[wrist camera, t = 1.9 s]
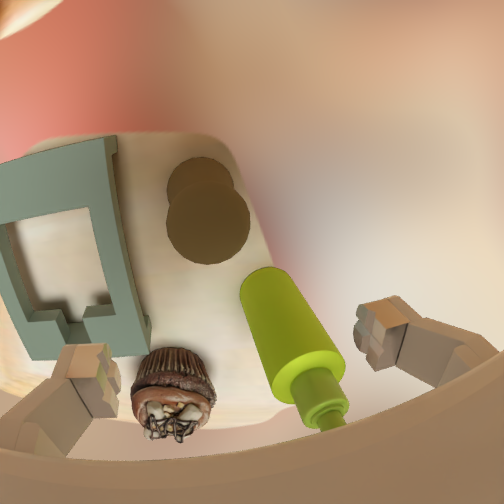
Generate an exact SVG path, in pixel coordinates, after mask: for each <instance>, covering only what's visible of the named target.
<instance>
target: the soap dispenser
mask: <svg viewBox="0 0 504 504" xmlns="http://www.w3.org/2000/svg"><path fill="white" fill-rule="evenodd" d="M240 300H241V303H242V306H243V309H244V312H245V315H246V318H247V321H248V324H249V327H250V330H251V333H252V336H253V339H254V342H255V345H256V347H257V350H258V353H259V356H260V359H261V362H262V365H263V368H264V370H265V373H266V376H267V379H268V382H269V385H270V387H271V390H272V393H273V395H274V397H275V398H276V399H278V400H279V401H281V402H283V403H286V404H296V407H297V409H298V412H299V414H300V416H301V419H302V421H303V423H304V425H305V426H306V427H309V428H312V429H317V428H320V430H321V432H324V431H327V430H330V429H334V428H337V427H340V426H343V425H346V422H345V420H344V419H343V416H344V415H345V414H346V413H347V411H348V409H349V401H348V399H347V398H346V396H345V394H344V392H343V391H342V389H341V387H340V385H339V384H338V383H339V382H340V380H341V379H342V377H343V375H344V372H345V361H344V359H343V357H342V355H341V354H340V352H339V351H338V349H337V348H336V346H335V345H334V343H333V342H332V340H331V338H330V337H329V335H328V334H327V332H326V331H325V329H324V328H323V326H322V325H321V323H320V321H319V320H318V318H317V317H316V315H315V314H314V312H313V311H312V309H311V308H310V306H309V305H308V303H307V302H306V300H305V299H304V297H303V295H302V294H301V292H300V291H299V289H298V288H297V286H296V285H295V283H294V282H293V280H292V279H291V277H290V276H289V275H288V274H287V273H286V272H285V271H283V270H281V269H278V268H274V267H267V268H262V269H259V270H257V271H255V272H253V273H252V274H250V275H249V276H248V277H247V278H246V279H245V281H244V282H243V284H242V286H241V289H240Z"/></svg>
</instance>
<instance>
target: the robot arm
mask: <svg viewBox="0 0 504 504" xmlns="http://www.w3.org/2000/svg"><path fill="white" fill-rule="evenodd" d="M356 316H357V317H358V319H359V320H358V321H357V323H356V324H355V325H354V331H353V336H354V342H355V344H356V346H357V348H358V349H359V351H361V352H363V353H365V354H367V355H366V360H367V362H368V363H369V364H370V366H371V367H372V368H373V370H374V371H375V372H376V371H379V370H382V369H386V368H389V367H392V366H395V365H396V367H398V368H399V369H402V370H403V371H405V372H407V373H409V374H410V375H412V376H414V377H416V378H418V379H420V380H421V381H423V382H425V383H427V384H429V385H431V386H433V387H435V389H433V390H431V391H429V392H427V393H425V394H422V395H421V396H418V397H416V398H414V399H411V400H409V401H407V402H404V403H402V404H400V405H397V406H395V407H393V408H390V409H388V410H385V411H383V412H380V413H377V414H375V415H372V416H370V417H366V418H364V419H361V420H358V421H355V422H352V423H349V424H346V425H343V426H340V427H337V428H334V429H330V430H327V431H324V432H320V433H317V434H314V435H310V436H306V437H302V438H298V439H294V440H291V441H286V442H282V443H277V444H273V445H268V446H263V447H258V448H253V449H248V450H242V451H236V452H229V453H223V454H216V455H208V456H200V457H189V458H178V459H164V460H143V461H141V460H140V461H108V460H83V459H71V458H66V456H67V454H68V453H69V452H70V450H71V449H72V447H73V446H74V445H75V443H76V442H77V441H78V439H79V438H80V437H81V435H82V434H83V433H84V431H85V430H86V429H87V427H88V426H89V425H90V423H91V422H92V420H93V418H117V415H118V406H119V400H118V398H117V396H116V395H117V394H118V393H119V392H120V390H121V376H120V372H119V368H118V366H117V363H115V362H114V361H113V360H111V357H112V351H111V349H110V346H109V345H108V344H107V343H92V344H71V345H65V346H63V348H62V350H61V352H60V355H59V358H58V360H57V363H56V365H55V368H54V371H53V373H52V376H51V379H46V380H45V381H43V382H42V383H41V384H40V385H39V386H37V387H36V388H35V389H34V390H33V391H31V392H30V393H29V394H28V395H27V396H25V397H24V398H23V399H22V400H21V401H20V402H19V403H17V404H16V405H15V406H14V407H13V408H11V409H10V410H9V411H8V412H7V413H6V414H5V415H3V416H2V417H1V419H0V504H504V350H503V351H501V352H499V351H497V349H496V348H494V347H493V346H492V345H491V344H490V343H489V342H488V341H487V340H486V339H485V338H483V337H482V336H481V335H479V334H476V333H473V332H470V331H467V330H464V329H461V328H457V327H454V326H451V325H448V324H445V323H442V322H439V321H436V320H433V319H429V318H422V317H421V316H420V315H419V314H418V313H417V312H415V311H414V310H413V309H412V308H411V307H410V306H409V305H408V304H407V303H405V301H403V300H402V299H401V298H400V297H399V296H395V295H394V296H391V297H387V298H384V299H382V300H378V301H373V302H369V303H365V304H360V305H359V306H358V308H357V311H356Z"/></svg>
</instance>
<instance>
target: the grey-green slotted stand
mask: <svg viewBox="0 0 504 504" xmlns="http://www.w3.org/2000/svg"><path fill="white" fill-rule="evenodd" d="M116 152H118V150H117V140H116V135H113V136H108V137H103V138H98V139H93V140H88V141H83V142H79V143H74V144H70V145H66V146H62V147H58V148H54V149H50V150H46V151H42V152H38V153H35V154H31V155H28V156H24V157H21V158H18V159H14V160H11V161H8V162H5V163H2V164H0V294H1V296H2V299H3V301H4V304H5V306H6V308H7V311H8V313H9V315H10V317H11V319H12V322H13V324H14V326H15V328H16V330H17V332H18V334H19V336H20V338H21V340H22V342H23V344H24V346H25V348H26V350H27V352H28V354H29V356H30V358H31V359H32V361H34V360H58V358H59V355H60V352H61V350H62V348H63V346H65V345H71V344H92V343H107V344H108V345H109V346H110V349H111V351H112V357H125V356H137V355H148V354H150V341H151V329H152V326H151V322H150V319H149V316H143V314H142V310H141V306H140V302H139V298H138V295H137V291H136V287H135V282H134V278H133V274H132V270H131V265H130V261H129V256H128V252H127V247H126V242H125V237H124V232H123V227H122V221H121V216H120V210H119V204H118V198H117V192H116V185H115V178H114V171H113V163H112V154H114V153H116ZM84 207H89V211H90V216H91V221H92V226H93V231H94V235H95V240H96V244H97V248H98V252H99V256H100V260H101V264H102V268H103V272H104V276H105V279H106V283H107V286H108V290H109V293H110V297H111V300H112V303H113V304H106V305H96V306H87V307H86V310H85V312H84V314H83V317H82V320H83V322H80V323H67V322H66V320H65V317H64V315H63V312H62V310H61V309H54V310H43V311H34V310H33V307H32V305H31V302H30V300H29V297H28V295H27V292H26V289H25V287H24V284H23V281H22V278H21V276H20V273H19V270H18V267H17V264H16V261H15V257H14V254H13V251H12V248H11V244H10V241H9V237H8V234H7V230H6V226H5V223H9V222H14V221H18V220H23V219H28V218H32V217H37V216H42V215H47V214H52V213H57V212H62V211H67V210H73V209H78V208H84ZM112 357H111V358H112Z"/></svg>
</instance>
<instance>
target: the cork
mask: <svg viewBox="0 0 504 504" xmlns="http://www.w3.org/2000/svg"><path fill="white" fill-rule="evenodd" d="M167 195H168V201H169V203H170V207H169V210H168V215H167V220H166V227H167V233H168V237H169V239H170V241H171V243H172V245H173V246H174V248H175V249H176V250H177V251H178V252H179V253H180V254H181V255H182V256H183V257H184V258H186V259H188V260H190V261H192V262H194V263H199V264H205V265H209V264H217V263H221V262H223V261H225V260H228V259H230V258H231V257H233V256H234V255H235V254H236V253H237V252H239V251H240V250H241V248H242V247H243V245H244V244H245V242H246V240H247V237H248V234H249V230H250V213H249V210H248V208H247V205H246V203H245V201H244V200H243V198H242V197H241V196H240V195H239V194H238V193H237V192H236V190H235V189H234V187H233V181H232V178H231V176H230V173H229V172H228V171H227V169H226V168H225V167H224V166H223V165H222V164H220V163H219V162H217V161H215V160H214V159H210V158H205V157H199V158H192V159H189V160H187V161H185V162H183V163H181V164H180V165H179V166H178V167H177V168H176V169H175V170H174V171H173V173H172V175H171V176H170V178H169V181H168V186H167Z"/></svg>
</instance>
